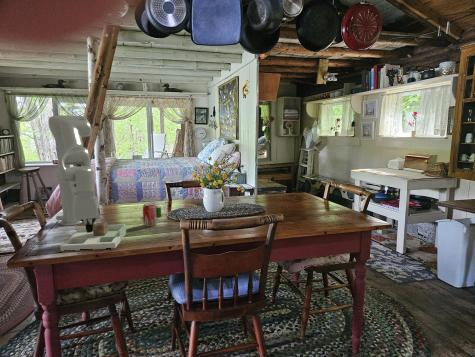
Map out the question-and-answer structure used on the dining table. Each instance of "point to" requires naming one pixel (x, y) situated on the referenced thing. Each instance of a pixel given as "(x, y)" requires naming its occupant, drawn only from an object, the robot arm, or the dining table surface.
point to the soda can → (149, 214)
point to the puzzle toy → (158, 211)
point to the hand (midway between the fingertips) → (90, 231)
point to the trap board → (95, 239)
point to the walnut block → (100, 229)
